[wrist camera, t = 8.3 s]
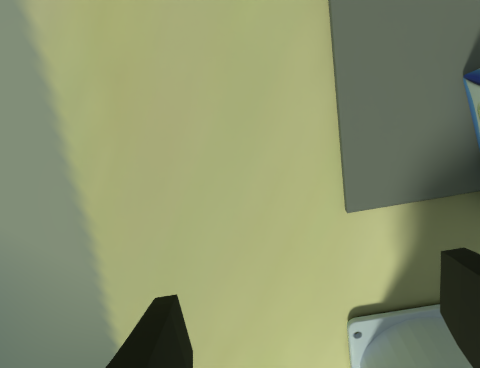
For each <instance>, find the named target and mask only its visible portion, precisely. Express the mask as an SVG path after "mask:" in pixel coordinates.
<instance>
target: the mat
mask: <svg viewBox="0 0 480 368" xmlns="http://www.w3.org/2000/svg"><path fill="white" fill-rule="evenodd" d="M328 1H329V13H330V26H331V38H332V51H333V63H334V76H335V88H336V101H337V113H338V125H339V138H340V150H341V163H342V175H343V188H344V200H345V210H346V212H347V213H351V212H357V211H363V210H369V209H375V208H381V207H387V206H393V205H399V204H405V203H411V202H417V201H423V200H429V199H435V198H441V197H447V196H453V195H459V194H465V193H471V192H477V191H480V150H479V146H478V142H477V137H476V133H475V129H474V124H473V120H472V116H471V112H470V108H469V103H468V99H467V94H466V90H465V86H464V82H463V76H464V75H465V74H467V73H470V72H472V71H475V70H477V69H479V68H480V0H328Z"/></svg>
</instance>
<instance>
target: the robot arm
mask: <svg viewBox="0 0 480 368" xmlns="http://www.w3.org/2000/svg"><path fill="white" fill-rule="evenodd" d="M347 331H348V342H349V354H350V365H351V368H480V255H479V254H477V253H475V252H473V251H471V250H468V249H466V248H459V249H453V250H446V251H441V282H440V304H438V305H432V306H425V307H419V308H413V309H406V310H400V311H394V312H388V313H381V314H375V315H369V316H362V317H356V318H352V319H351V320H349V321H348V323H347ZM355 332H359V333H357V334H354V333H355ZM106 368H193V350H192V347H191V343H190V339H189V336H188V332H187V329H186V325H185V322H184V318H183V314H182V311H181V307H180V304H179V300H178V296H177V295H171V296H164V297H158V298H155V299H154V300H153V302H152V303H151V304H150V306H149V307H148V309H147V310H146V312H145V313H144V315H143V316H142V318H141V319H140V321H139V322H138V324H137V325H136V326H135V328H134V329H133V331H132V332H131V334H130V335H129V337H128V338H127V339H126V341H125V342H124V344H123V345H122V346H121V348H120V349H119V350H118V352H117V353H116V355H115V356H114V358H113V359H112V360H111V361H110V363H109V364H108V365H107V366H106Z"/></svg>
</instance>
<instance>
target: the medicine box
mask: <svg viewBox="0 0 480 368" xmlns="http://www.w3.org/2000/svg"><path fill="white" fill-rule="evenodd" d="M463 82H464V86H465V90H466V94H467V99H468V103H469V108H470V112H471V116H472V120H473V124H474V129H475V133H476V137H477V142H478V146H479V150H480V68H479V69H477V70H475V71H472V72H470V73H467V74H465V75H464V76H463Z"/></svg>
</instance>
